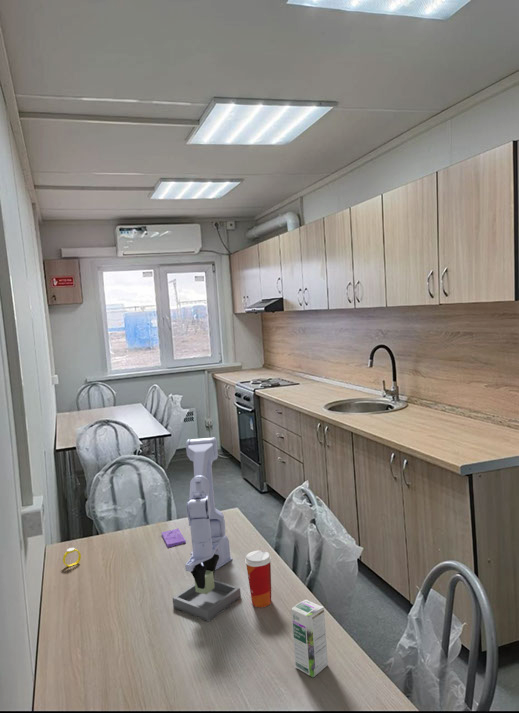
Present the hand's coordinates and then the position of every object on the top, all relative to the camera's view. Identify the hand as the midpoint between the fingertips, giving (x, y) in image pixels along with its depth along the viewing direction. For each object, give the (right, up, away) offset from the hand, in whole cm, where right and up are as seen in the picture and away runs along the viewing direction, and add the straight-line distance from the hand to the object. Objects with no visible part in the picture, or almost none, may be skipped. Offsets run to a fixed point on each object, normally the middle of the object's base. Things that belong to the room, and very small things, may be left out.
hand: (205, 583), depth 153 cm
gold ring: (-51, -8, +33) cm, 61 cm away
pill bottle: (+16, -5, -2) cm, 17 cm away
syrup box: (+28, -6, -31) cm, 42 cm away
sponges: (-17, -4, +48) cm, 51 cm away
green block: (0, -2, 0) cm, 2 cm away
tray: (0, -6, 0) cm, 6 cm away
